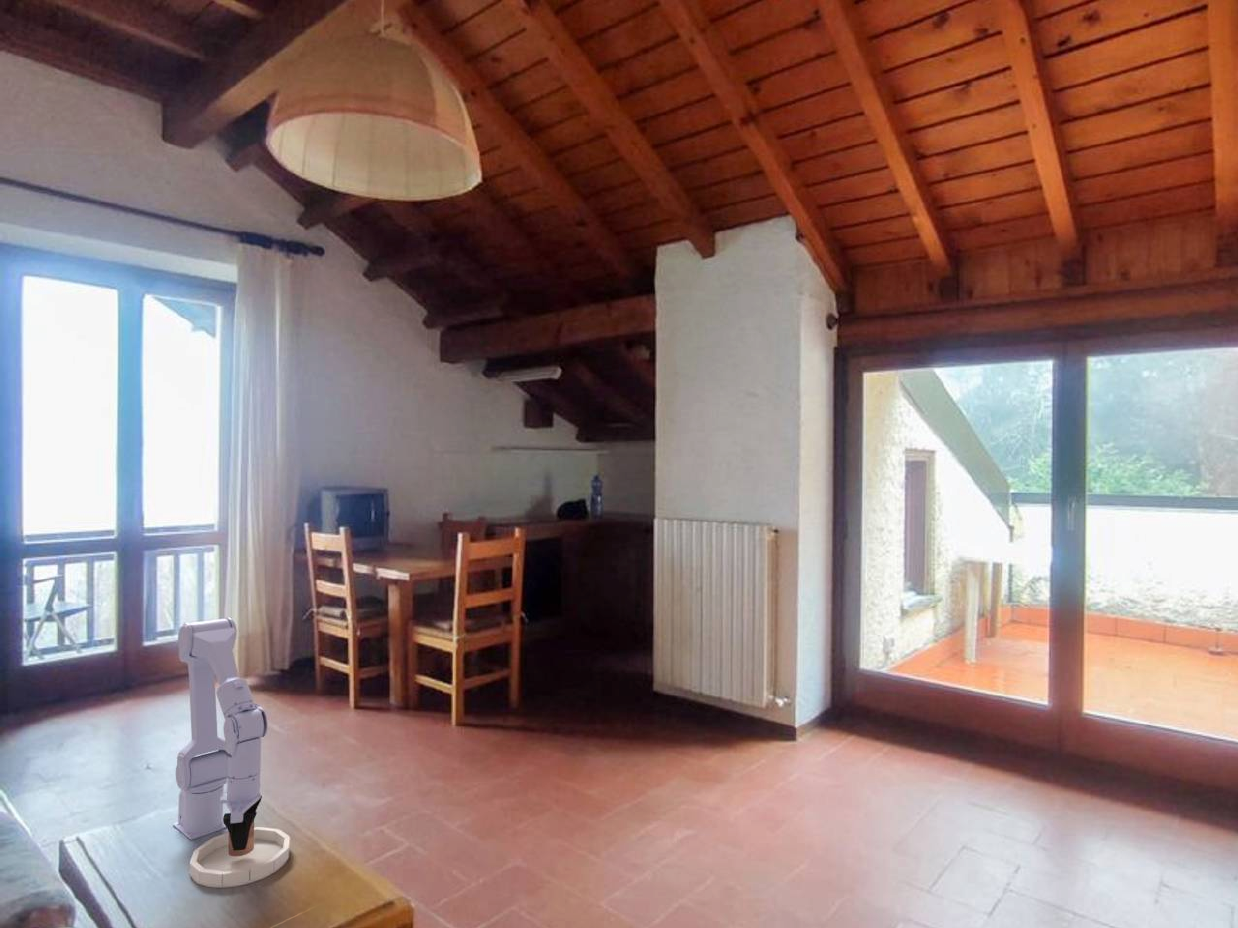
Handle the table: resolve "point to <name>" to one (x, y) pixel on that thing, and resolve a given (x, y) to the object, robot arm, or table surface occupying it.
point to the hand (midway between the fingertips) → (241, 842)
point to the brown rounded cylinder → (248, 848)
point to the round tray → (239, 859)
